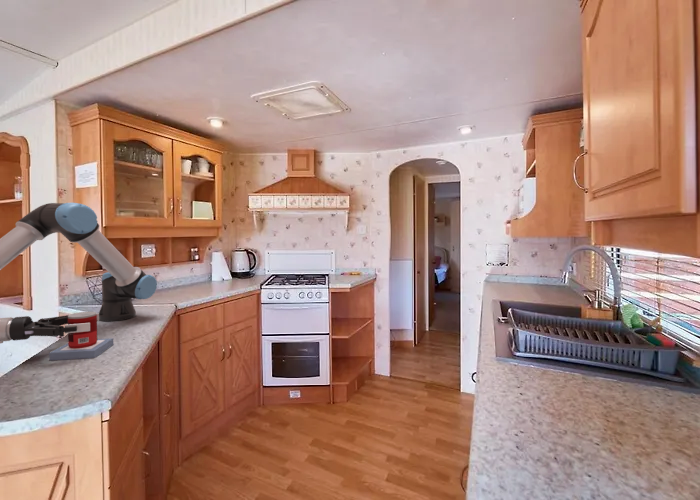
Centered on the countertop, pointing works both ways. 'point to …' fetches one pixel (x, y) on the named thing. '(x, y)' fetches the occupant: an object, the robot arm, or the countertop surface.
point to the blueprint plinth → (81, 350)
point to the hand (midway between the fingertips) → (94, 321)
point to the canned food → (83, 337)
